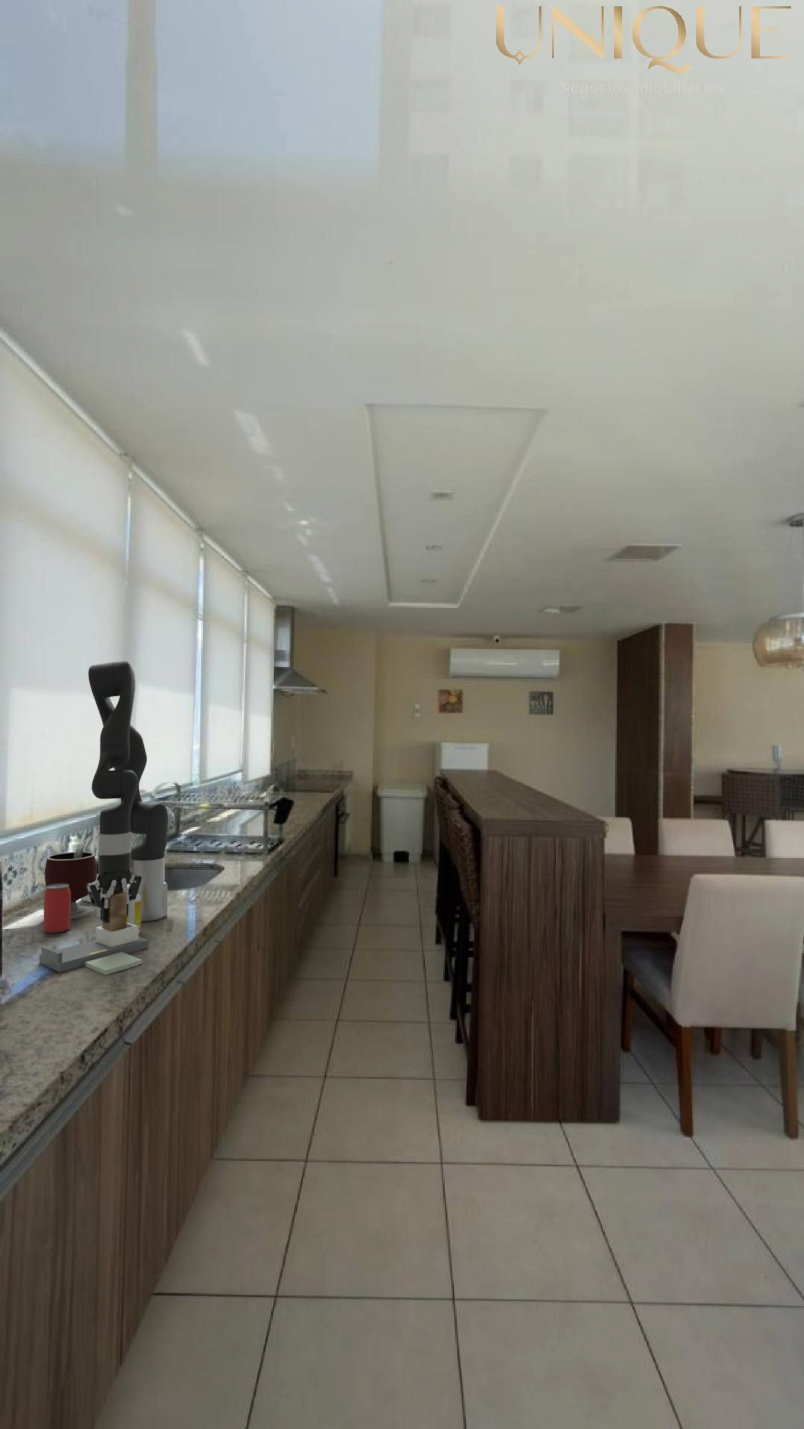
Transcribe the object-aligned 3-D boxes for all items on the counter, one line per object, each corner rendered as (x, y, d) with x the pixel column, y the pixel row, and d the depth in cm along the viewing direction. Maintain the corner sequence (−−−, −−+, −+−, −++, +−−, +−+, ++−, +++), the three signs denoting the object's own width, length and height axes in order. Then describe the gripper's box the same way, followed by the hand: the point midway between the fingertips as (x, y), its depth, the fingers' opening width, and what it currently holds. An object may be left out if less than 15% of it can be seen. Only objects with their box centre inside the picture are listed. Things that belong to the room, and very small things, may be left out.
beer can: (76, 928, 190) (76, 884, 190) (57, 934, 184) (57, 889, 184) (57, 925, 192) (57, 882, 193) (37, 932, 186) (38, 887, 186)
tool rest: (121, 956, 167) (121, 951, 167) (142, 964, 161) (142, 959, 161) (84, 966, 160) (84, 961, 160) (105, 974, 154) (105, 970, 154)
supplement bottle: (136, 928, 189) (137, 881, 190) (143, 934, 184) (144, 886, 184) (111, 933, 186) (111, 884, 186) (117, 939, 180) (117, 889, 180)
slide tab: (123, 934, 177) (123, 921, 177) (138, 940, 173) (138, 926, 173) (95, 941, 171) (95, 927, 171) (111, 947, 167) (111, 932, 167)
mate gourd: (83, 920, 198) (83, 850, 198) (34, 920, 198) (35, 849, 198) (107, 906, 213) (107, 841, 213) (62, 906, 213) (62, 840, 214)
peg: (117, 930, 174) (118, 890, 174) (126, 933, 172) (126, 892, 172) (102, 934, 171) (102, 893, 171) (111, 937, 168) (111, 895, 169)
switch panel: (127, 940, 179) (127, 924, 179) (148, 947, 173) (148, 931, 173) (39, 963, 162) (39, 945, 162) (59, 972, 156) (59, 954, 156)
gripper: (133, 845, 180) (132, 912, 179) (79, 853, 168) (78, 924, 168) (149, 848, 175) (148, 917, 175) (94, 857, 164) (94, 930, 163)
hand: (114, 920), depth 171 cm, fingers closed on peg, 4 cm apart
